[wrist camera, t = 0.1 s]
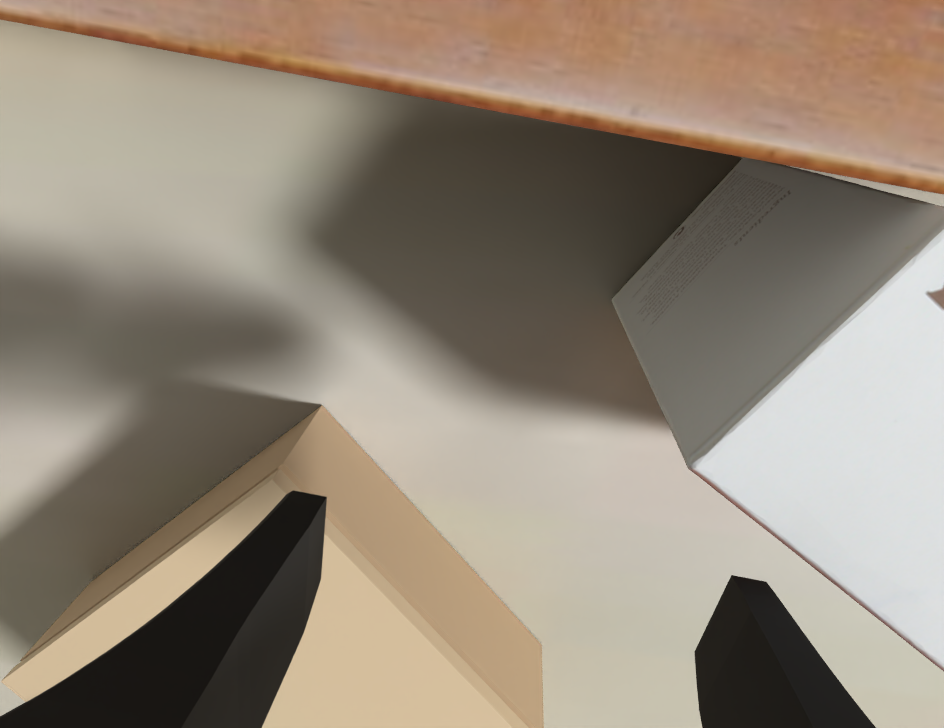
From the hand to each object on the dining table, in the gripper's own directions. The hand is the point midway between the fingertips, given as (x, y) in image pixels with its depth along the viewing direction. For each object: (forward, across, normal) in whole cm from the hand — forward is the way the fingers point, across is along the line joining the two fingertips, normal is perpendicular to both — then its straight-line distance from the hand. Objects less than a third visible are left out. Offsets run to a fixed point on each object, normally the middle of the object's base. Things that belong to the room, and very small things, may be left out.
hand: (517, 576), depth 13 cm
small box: (+11, -7, -1) cm, 13 cm away
